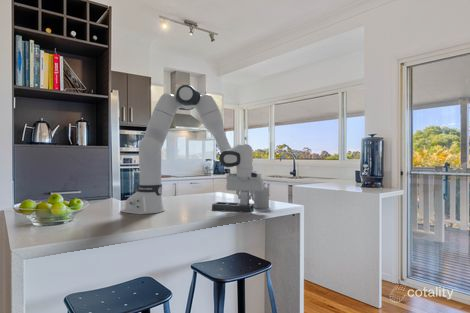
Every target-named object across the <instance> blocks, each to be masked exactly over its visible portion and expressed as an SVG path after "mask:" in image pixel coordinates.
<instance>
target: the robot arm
mask: <svg viewBox="0 0 470 313" xmlns="http://www.w3.org/2000/svg"><path fill="white" fill-rule="evenodd" d="M194 109H195V110H196V111H197V113H198V115H199V118H200V119H201V122H202V124H203V126H204V127H205V128H206V130H207V131H208V132H209V133H210V134H211V135H212V136H213V139H215V142H216V143H217V146H218V148H219V152H220V154H219V158H218V161H219V163H220V164H221V166H222V167H224V168H227V169H228V168H233V167H236V173H228V174H227V175H226V177H225V178H226V186H225V187H226V188H225V189H226V190H227V191H234V192H235V193H236V194H237V198H238V200H240V191H249V196H248V200H249V201H251V200H252V194H253V191H259V192H261V191H263V189H264V180H263V178H262V172H258V171H256V170H254V167H253V161H254V153H253V148H252V146H251V145H250V144H247V143H241V142H240V143H237V144H235V146H233V147H231V145H230V143H229V140H228V138H227V135H226V133H225V128H224V127H225V126H224V119H223V117H222V113H221V110H220V109H219V105H218V104H217V102H216V100H215V99H214V97H213V96H212V95H211V94H209V93H204V94H201V92H199V91H198V90H197V89H196V88H195V87H193V86H192V85H189V84H182V85H181V86H179V87H178V88H177V89H176V92H175V94H172V93H168V92H167V93H166V92H165V93H163V94H162V95H161V96H160V97H159V99H158V100H157V103H156V104H155V106H154V109H153V111H152V113H151V116H150V118H149V121H148V123H147V126H146V128H145V129H146V130H145V132H144V135H143V137H142V139H141V140H140V141H139V144H138V165H139V184H138V185H136V186H134V188H135V189H136V191H135V192H134V193H133V194H131V195H130V196H129V197H128V198H127V199H126V200H125V205H124V207H122V208H121V209H120V212H121V213H128V214H135V215H147V214H148V215H149V214H157V213H162V212H164V211H165V208H164V203H163V197H162V196H163V184H162V148H163V146H164V144H165V141H166V138H167V136H168V133H169V131H170V128H171V125H172V123H173V121H174V119H175V116H176V113H177V111H178V110H182V111H191V110H194Z"/></svg>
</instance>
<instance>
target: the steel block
mask: <svg viewBox="0 0 470 313" xmlns="http://www.w3.org/2000/svg"><path fill="white" fill-rule="evenodd" d="M239 194H240V199H239V203H240V205H244V206H248V205H249V203H250V200H248V196H250V191H240V192H239Z"/></svg>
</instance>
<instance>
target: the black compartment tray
mask: <svg viewBox="0 0 470 313" xmlns="http://www.w3.org/2000/svg"><path fill="white" fill-rule="evenodd" d="M254 209H255V208H254V203H250V202H249V205H248V206H244V205H240V202H230V201H229V202H228V201H216V202H214V203H212V204H211V210H212V211H227V212H240V211H242V212H243V213H250V212H252V211H253V210H254Z"/></svg>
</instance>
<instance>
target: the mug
mask: <svg viewBox="0 0 470 313" xmlns="http://www.w3.org/2000/svg"><path fill="white" fill-rule="evenodd" d="M251 200H252V201H253V204H254V209H261V210H263V209H265V210H266V209H269V208H270V188H269V187H264V189H263V191H261V192H259V191H253V194H252V196H251Z"/></svg>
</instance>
